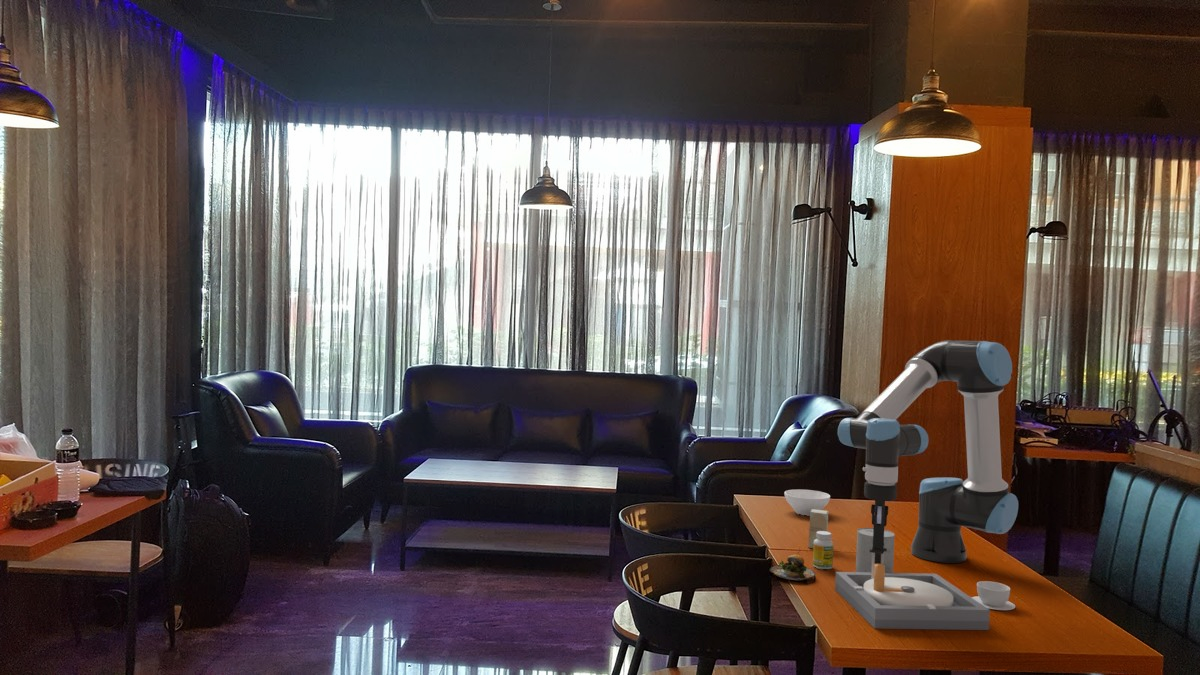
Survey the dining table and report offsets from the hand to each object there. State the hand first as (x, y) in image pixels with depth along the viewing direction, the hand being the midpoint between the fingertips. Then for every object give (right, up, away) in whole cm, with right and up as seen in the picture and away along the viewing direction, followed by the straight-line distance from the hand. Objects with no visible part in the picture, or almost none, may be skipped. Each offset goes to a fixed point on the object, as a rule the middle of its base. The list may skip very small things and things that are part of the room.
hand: (877, 578), depth 196 cm
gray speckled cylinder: (+6, -6, +19) cm, 20 cm away
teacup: (+29, -7, +1) cm, 30 cm away
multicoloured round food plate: (-16, -5, +18) cm, 25 cm away
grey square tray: (+6, -6, -4) cm, 9 cm away
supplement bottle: (-6, -5, +27) cm, 28 cm away
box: (-2, -5, +47) cm, 48 cm away
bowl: (+6, -4, +92) cm, 92 cm away
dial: (+6, -4, -4) cm, 8 cm away
